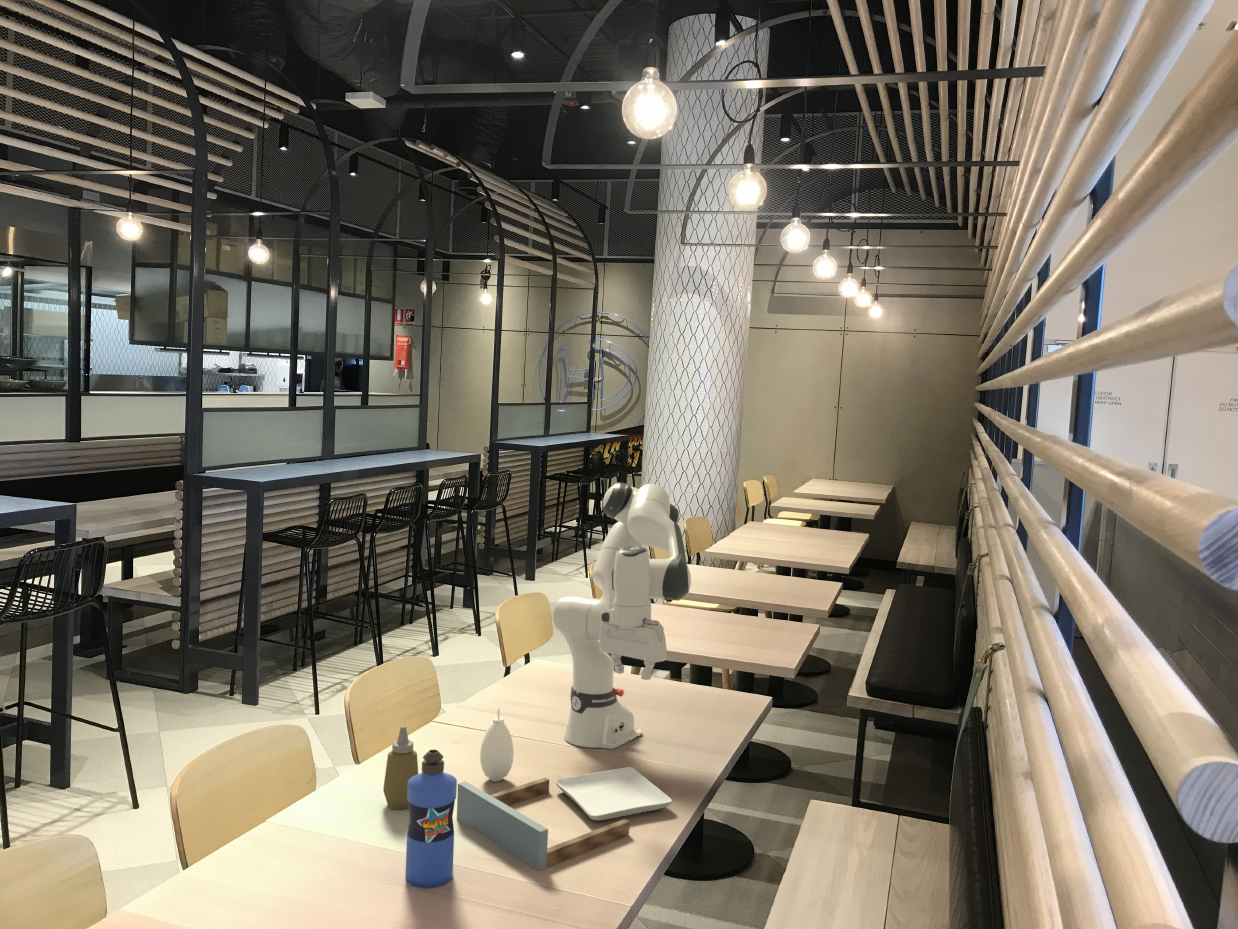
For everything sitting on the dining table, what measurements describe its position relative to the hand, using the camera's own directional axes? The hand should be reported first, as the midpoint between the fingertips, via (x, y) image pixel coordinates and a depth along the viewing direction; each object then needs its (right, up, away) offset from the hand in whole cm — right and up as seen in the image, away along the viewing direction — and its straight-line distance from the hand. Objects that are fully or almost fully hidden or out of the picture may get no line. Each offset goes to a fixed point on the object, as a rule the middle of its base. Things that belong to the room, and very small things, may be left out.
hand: (632, 676), depth 222 cm
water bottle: (-40, -31, -37) cm, 63 cm away
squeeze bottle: (-53, -28, -6) cm, 60 cm away
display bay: (-20, -30, -13) cm, 38 cm away
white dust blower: (-33, -28, +10) cm, 44 cm away
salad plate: (-5, -30, +1) cm, 31 cm away
